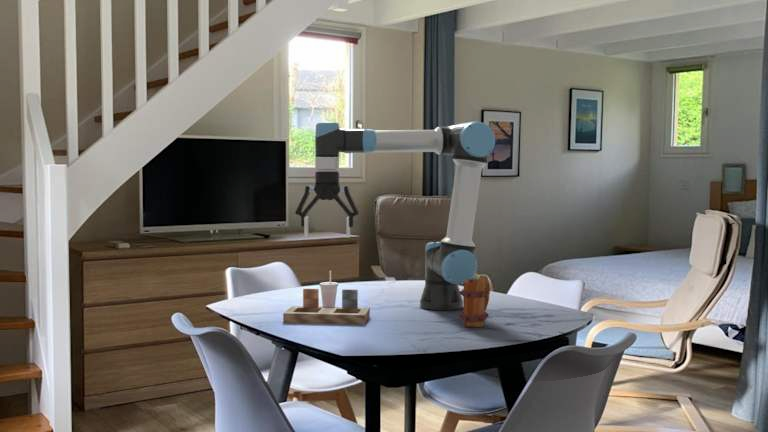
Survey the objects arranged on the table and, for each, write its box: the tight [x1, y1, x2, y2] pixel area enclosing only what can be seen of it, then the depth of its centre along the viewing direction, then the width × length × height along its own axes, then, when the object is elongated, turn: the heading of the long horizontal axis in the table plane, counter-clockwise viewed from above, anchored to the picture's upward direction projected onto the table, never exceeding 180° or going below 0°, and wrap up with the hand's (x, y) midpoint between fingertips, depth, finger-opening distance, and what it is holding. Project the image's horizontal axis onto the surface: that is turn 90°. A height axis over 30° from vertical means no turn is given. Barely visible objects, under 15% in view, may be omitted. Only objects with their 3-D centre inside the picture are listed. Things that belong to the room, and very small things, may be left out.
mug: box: [458, 275, 491, 328], centre depth 249 cm, size 15×8×15 cm, turn 148°
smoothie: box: [319, 270, 339, 307], centre depth 271 cm, size 6×6×14 cm
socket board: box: [282, 288, 371, 325], centre depth 256 cm, size 26×13×9 cm, turn 84°
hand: (327, 237), depth 255 cm, fingers open, 13 cm apart
